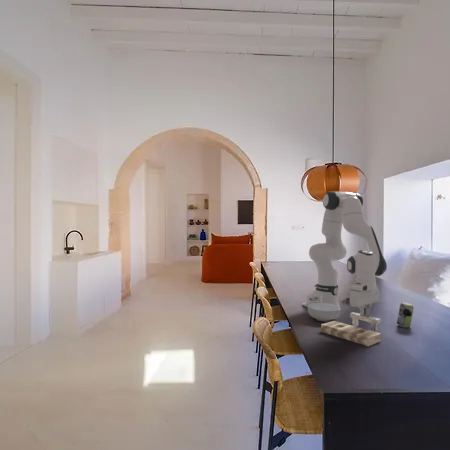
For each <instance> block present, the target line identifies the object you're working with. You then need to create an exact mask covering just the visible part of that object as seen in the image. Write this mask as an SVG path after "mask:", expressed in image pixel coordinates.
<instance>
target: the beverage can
mask: <svg viewBox="0 0 450 450" xmlns="http://www.w3.org/2000/svg"><path fill="white" fill-rule="evenodd" d="M414 308H415V307H414V305H413V304H412V303H410V302H407V301H401V303H400V304H399V309H398V315H397V321H396V323H397V325H398V326H399V327H401V328H404V329H405V328H410V327H411V326H412V324H411V323H412V319H413V313H414Z"/></svg>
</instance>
